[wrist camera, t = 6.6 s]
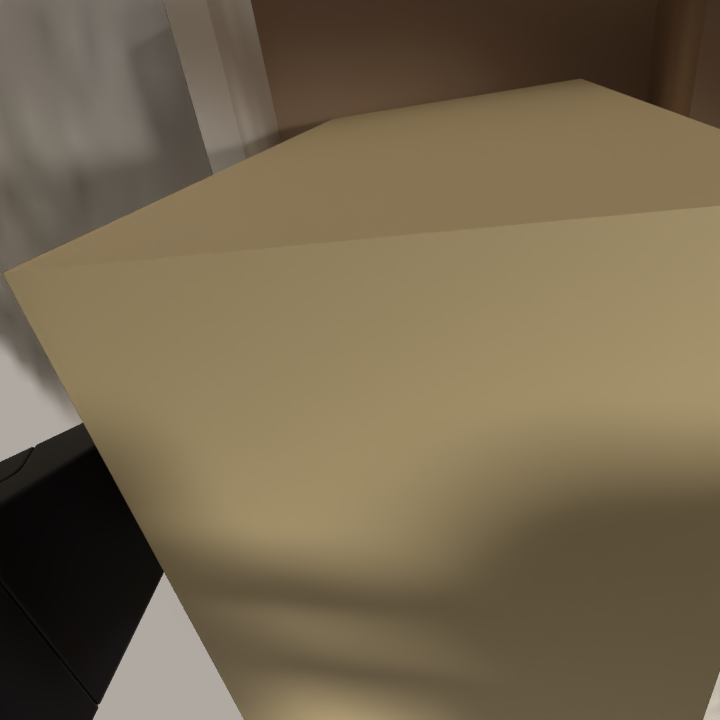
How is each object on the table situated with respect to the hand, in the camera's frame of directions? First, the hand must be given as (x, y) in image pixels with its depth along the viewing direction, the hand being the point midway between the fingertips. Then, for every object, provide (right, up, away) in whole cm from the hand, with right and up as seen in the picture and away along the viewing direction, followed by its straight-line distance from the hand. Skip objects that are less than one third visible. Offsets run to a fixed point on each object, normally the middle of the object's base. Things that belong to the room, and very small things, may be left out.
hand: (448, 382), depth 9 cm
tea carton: (+1, +2, +3) cm, 4 cm away
